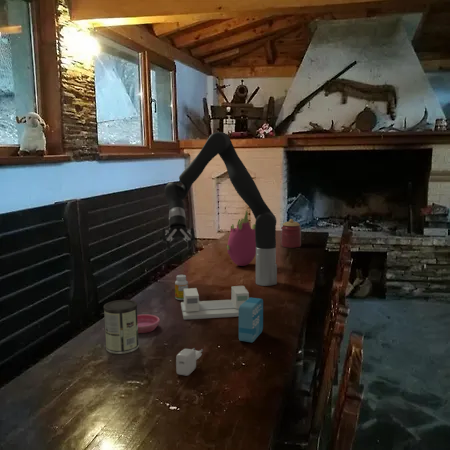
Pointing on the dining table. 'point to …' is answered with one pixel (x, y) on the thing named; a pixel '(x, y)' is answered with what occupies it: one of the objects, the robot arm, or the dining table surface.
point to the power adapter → (187, 361)
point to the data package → (250, 319)
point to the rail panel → (213, 304)
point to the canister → (291, 234)
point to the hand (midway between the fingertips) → (179, 249)
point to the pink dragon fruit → (242, 242)
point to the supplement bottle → (180, 287)
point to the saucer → (147, 323)
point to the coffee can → (121, 326)
